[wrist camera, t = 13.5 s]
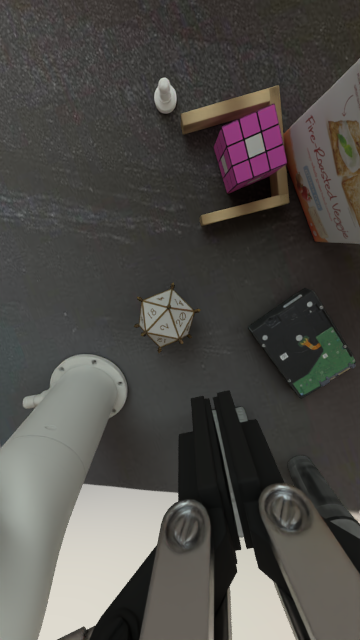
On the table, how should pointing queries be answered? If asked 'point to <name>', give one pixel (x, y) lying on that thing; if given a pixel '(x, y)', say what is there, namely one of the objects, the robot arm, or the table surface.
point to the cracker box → (329, 161)
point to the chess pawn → (165, 96)
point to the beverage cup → (321, 494)
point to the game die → (165, 318)
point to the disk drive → (303, 343)
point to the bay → (231, 112)
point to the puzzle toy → (250, 149)
